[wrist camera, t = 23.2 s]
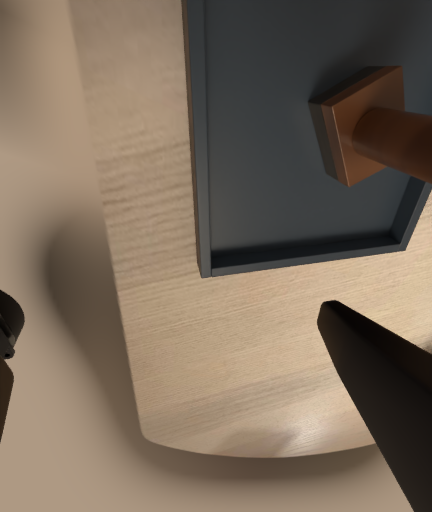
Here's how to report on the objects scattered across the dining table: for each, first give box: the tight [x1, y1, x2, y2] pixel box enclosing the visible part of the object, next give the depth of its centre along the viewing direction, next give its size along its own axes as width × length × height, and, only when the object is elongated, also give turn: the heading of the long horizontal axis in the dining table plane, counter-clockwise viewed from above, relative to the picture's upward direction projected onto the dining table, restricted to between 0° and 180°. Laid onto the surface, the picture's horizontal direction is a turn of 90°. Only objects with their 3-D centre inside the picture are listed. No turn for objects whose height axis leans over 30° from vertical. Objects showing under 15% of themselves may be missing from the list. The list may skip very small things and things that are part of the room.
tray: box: [181, 0, 432, 278], centre depth 17 cm, size 18×22×2 cm
